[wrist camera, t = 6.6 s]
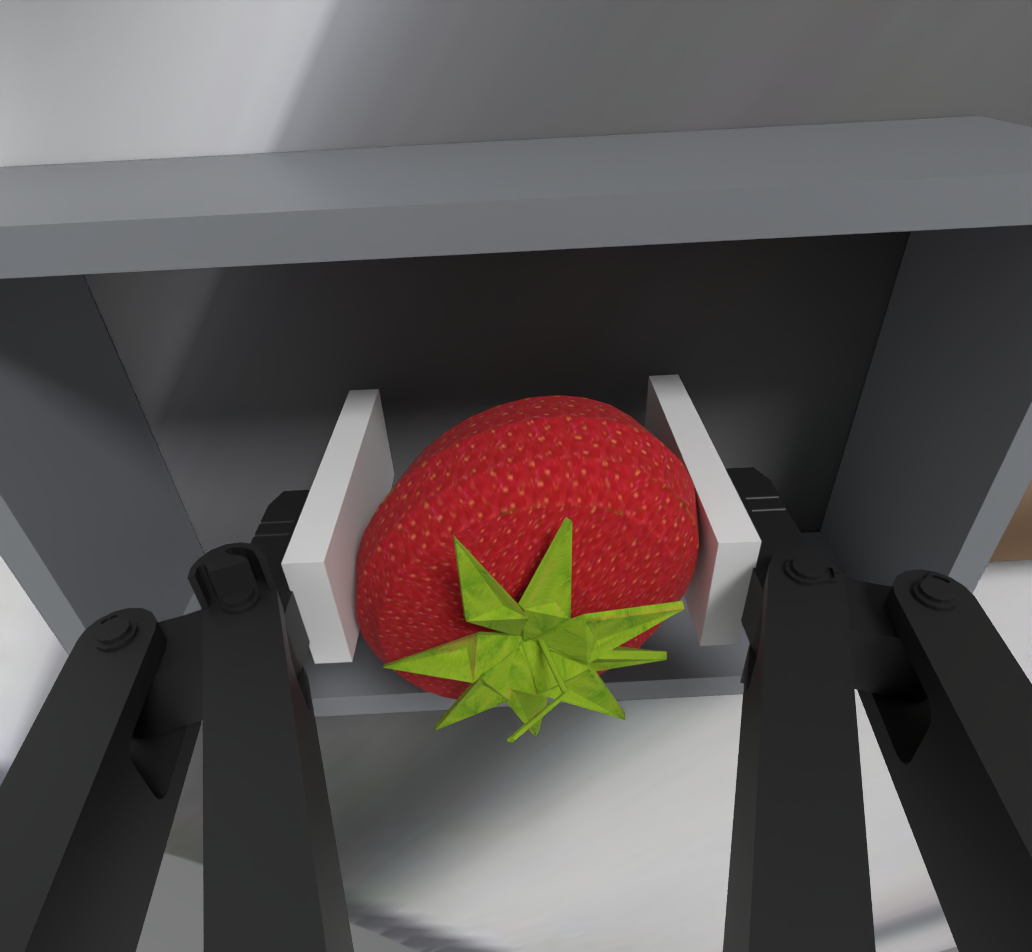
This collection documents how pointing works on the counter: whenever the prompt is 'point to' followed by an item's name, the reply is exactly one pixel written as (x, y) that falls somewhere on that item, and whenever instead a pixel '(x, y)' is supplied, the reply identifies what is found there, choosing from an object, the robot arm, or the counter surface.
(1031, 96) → the counter surface
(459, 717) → the strawberry
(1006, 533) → the display board
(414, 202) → the crate
